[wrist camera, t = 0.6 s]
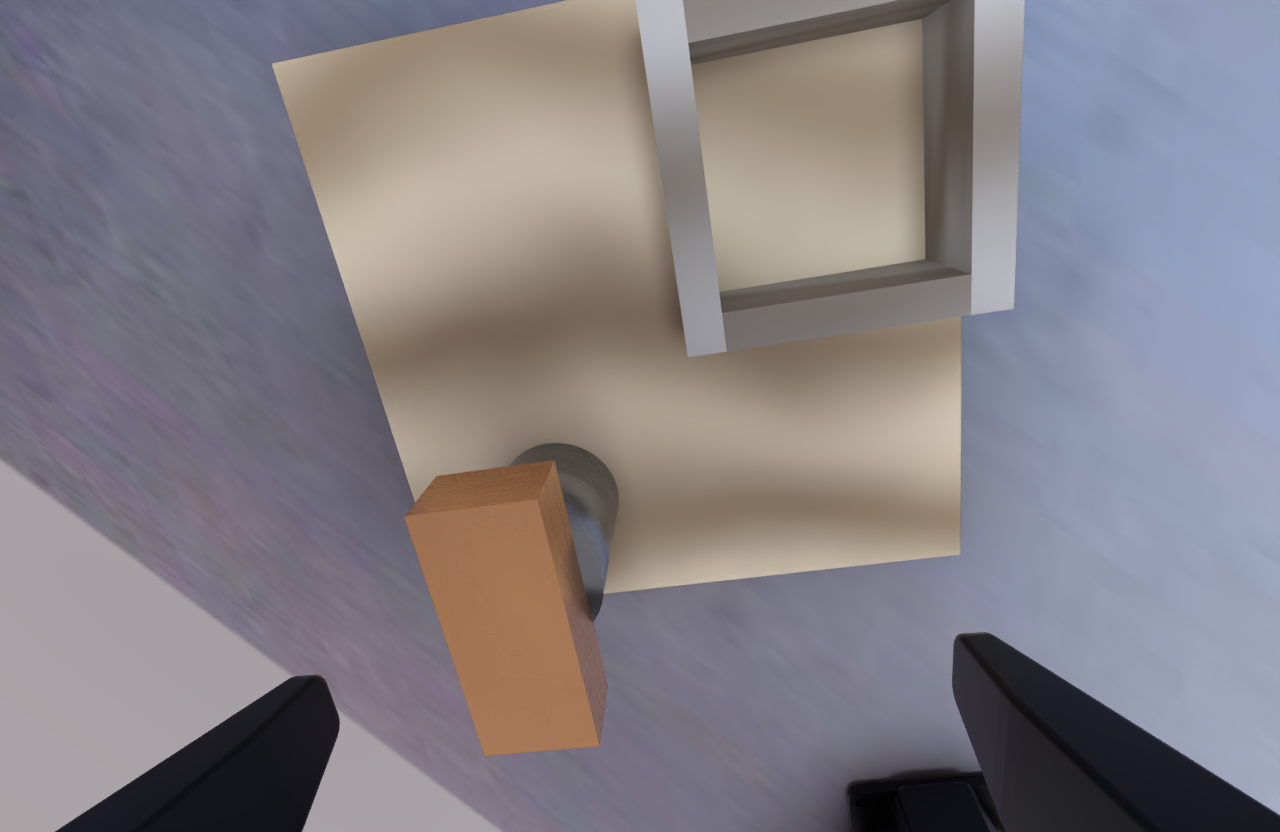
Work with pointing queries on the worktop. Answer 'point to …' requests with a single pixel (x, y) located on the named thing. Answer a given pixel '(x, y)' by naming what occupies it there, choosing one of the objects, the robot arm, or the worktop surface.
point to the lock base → (683, 258)
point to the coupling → (523, 592)
